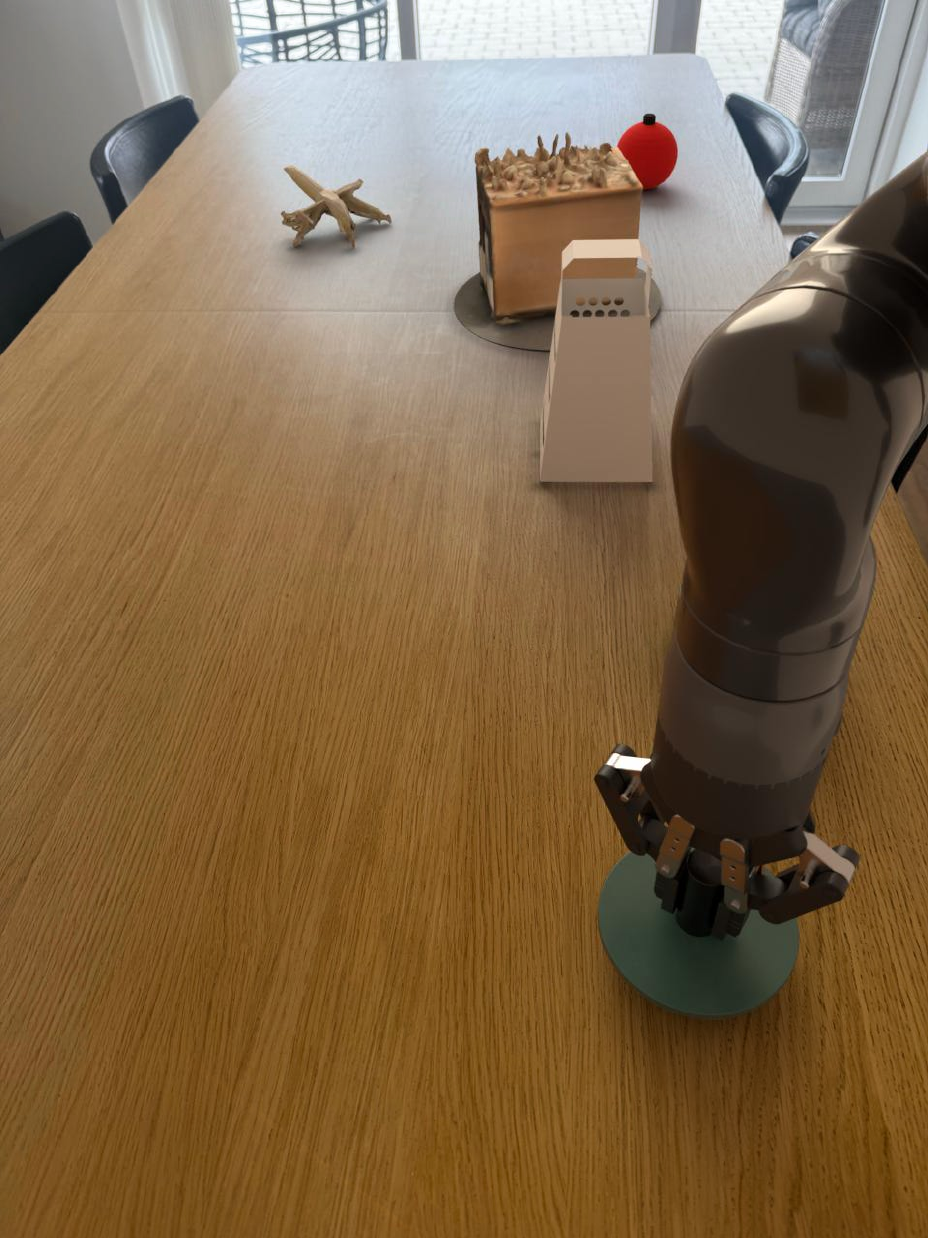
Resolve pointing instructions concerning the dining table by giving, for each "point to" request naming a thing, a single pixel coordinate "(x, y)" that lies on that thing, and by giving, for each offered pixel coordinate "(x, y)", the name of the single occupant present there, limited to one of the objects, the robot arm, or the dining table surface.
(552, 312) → the planter
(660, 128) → the ornament
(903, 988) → the dining table surface
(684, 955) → the lid
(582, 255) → the grater
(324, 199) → the branching beige root
